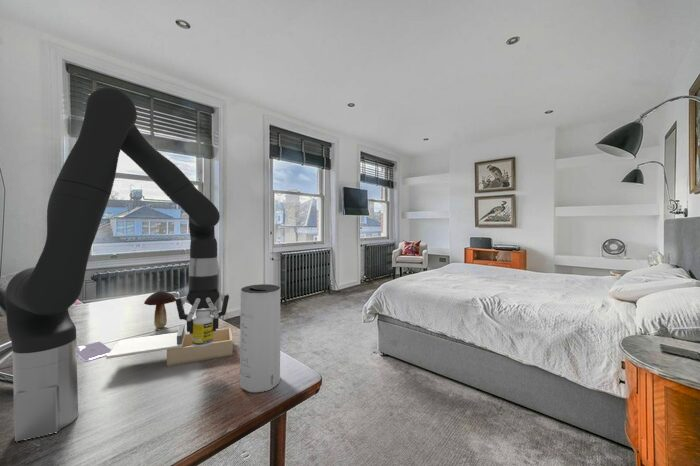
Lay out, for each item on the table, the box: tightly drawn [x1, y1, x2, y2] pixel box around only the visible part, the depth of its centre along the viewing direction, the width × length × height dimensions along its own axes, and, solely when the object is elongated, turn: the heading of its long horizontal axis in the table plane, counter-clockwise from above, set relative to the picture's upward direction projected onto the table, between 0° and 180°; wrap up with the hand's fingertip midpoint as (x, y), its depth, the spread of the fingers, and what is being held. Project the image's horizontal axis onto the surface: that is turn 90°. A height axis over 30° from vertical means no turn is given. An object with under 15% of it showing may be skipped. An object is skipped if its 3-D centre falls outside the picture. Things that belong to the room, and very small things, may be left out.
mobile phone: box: [77, 341, 112, 363], centre depth 95 cm, size 8×1×15 cm
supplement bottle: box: [192, 308, 214, 347], centre depth 83 cm, size 5×5×10 cm
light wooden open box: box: [166, 327, 234, 368], centre depth 94 cm, size 12×18×5 cm, turn 115°
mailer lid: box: [105, 324, 187, 360], centre depth 88 cm, size 12×18×3 cm, turn 115°
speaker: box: [239, 283, 281, 394], centre depth 77 cm, size 11×10×26 cm
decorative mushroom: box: [143, 290, 177, 329], centre depth 116 cm, size 11×11×15 cm
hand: (203, 331), depth 83 cm, fingers closed on supplement bottle, 5 cm apart
